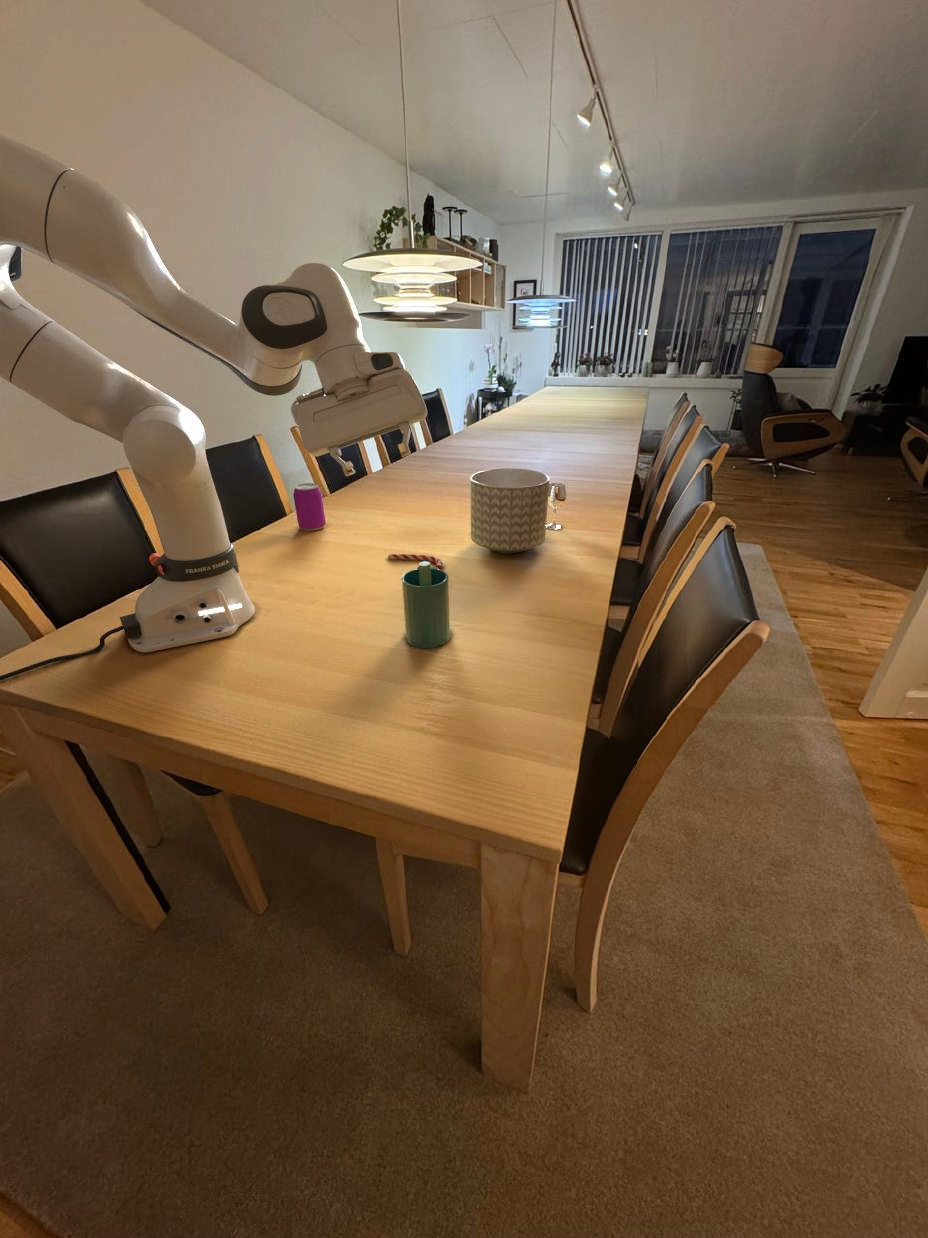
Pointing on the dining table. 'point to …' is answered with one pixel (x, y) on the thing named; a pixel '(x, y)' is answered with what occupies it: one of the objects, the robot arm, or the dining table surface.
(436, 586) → the tin can
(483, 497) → the planter
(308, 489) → the beverage can
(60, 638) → the dining table surface
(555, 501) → the wineglass
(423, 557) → the candy cane
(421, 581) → the straw
